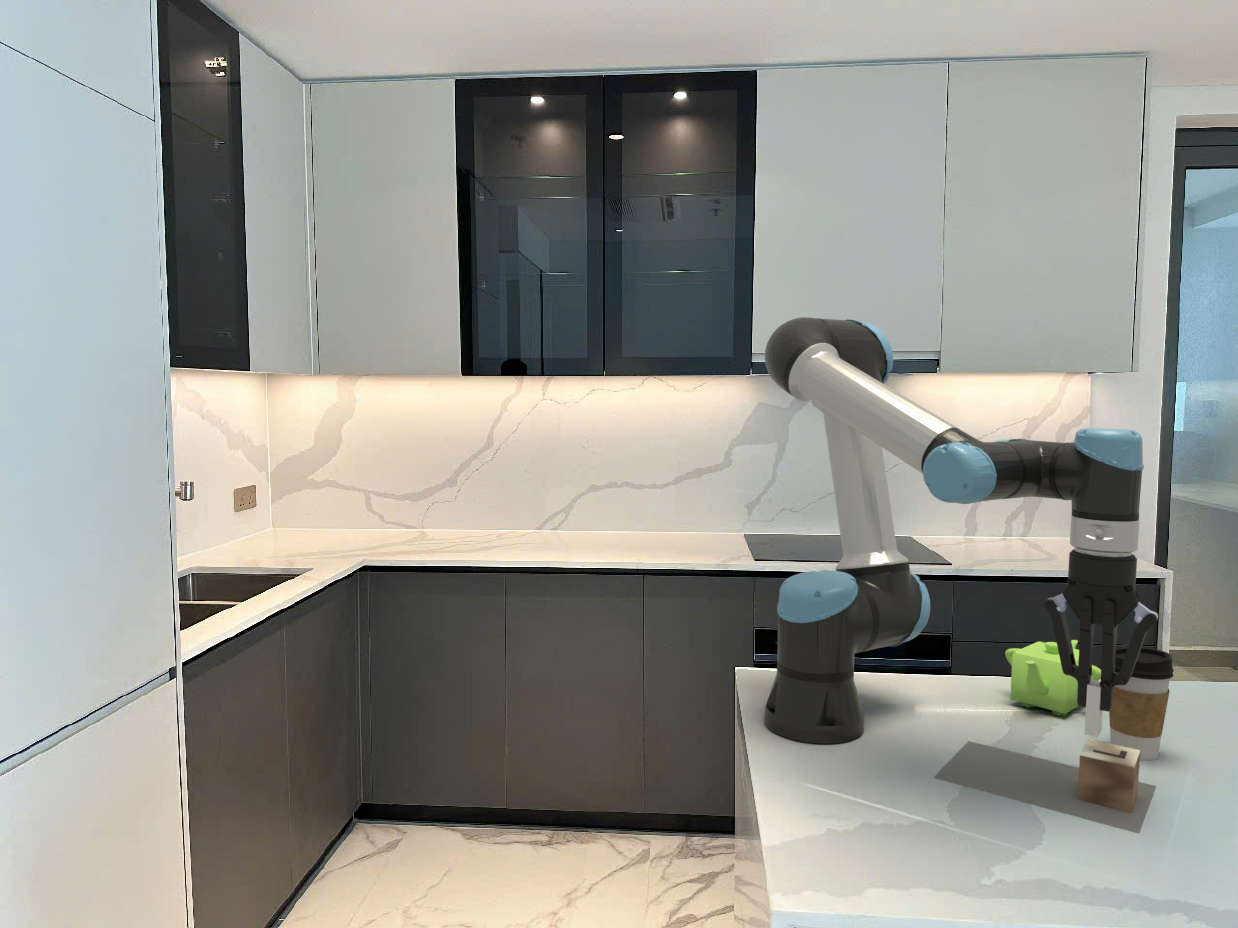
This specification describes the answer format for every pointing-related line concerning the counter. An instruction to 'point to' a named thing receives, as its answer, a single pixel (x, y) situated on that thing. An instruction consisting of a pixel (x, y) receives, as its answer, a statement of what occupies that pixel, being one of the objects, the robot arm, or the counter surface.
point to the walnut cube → (1109, 775)
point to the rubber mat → (1037, 784)
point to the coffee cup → (1141, 702)
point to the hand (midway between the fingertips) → (1093, 732)
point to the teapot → (1044, 677)
